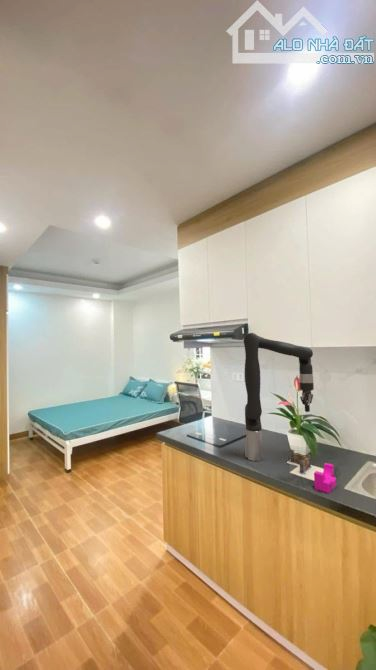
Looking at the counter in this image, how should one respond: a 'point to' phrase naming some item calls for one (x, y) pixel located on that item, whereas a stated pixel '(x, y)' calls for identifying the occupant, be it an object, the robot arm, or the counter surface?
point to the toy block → (325, 479)
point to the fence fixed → (299, 457)
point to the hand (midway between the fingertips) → (307, 411)
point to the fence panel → (304, 465)
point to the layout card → (307, 473)
